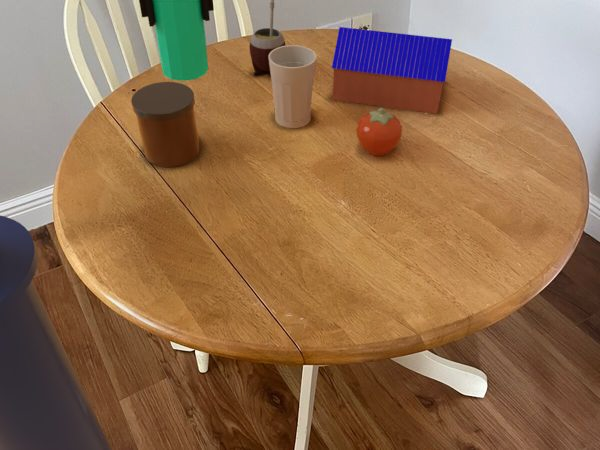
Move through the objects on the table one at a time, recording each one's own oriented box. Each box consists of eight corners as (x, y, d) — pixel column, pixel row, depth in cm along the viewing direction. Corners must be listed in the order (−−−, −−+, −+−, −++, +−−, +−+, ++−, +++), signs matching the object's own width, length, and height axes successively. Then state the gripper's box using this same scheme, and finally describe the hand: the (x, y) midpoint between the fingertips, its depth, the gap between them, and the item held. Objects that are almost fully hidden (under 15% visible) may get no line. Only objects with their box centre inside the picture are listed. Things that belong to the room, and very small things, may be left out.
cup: (261, 117, 105) (258, 55, 97) (294, 101, 109) (294, 40, 101) (291, 136, 101) (290, 73, 93) (324, 119, 105) (326, 57, 96)
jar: (146, 173, 93) (133, 118, 86) (140, 139, 100) (128, 86, 93) (205, 163, 95) (198, 108, 88) (196, 130, 102) (189, 78, 95)
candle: (154, 66, 77) (138, -28, 69) (195, 54, 80) (185, -37, 71) (174, 85, 73) (159, -11, 65) (216, 72, 76) (207, -22, 68)
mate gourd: (260, 83, 114) (256, 8, 103) (243, 66, 119) (238, -8, 108) (294, 75, 116) (293, 0, 106) (276, 58, 121) (274, -15, 111)
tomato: (389, 133, 101) (394, 93, 96) (406, 158, 96) (412, 117, 91) (348, 140, 100) (351, 99, 94) (363, 166, 95) (367, 124, 89)
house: (438, 114, 106) (450, 55, 98) (330, 100, 109) (332, 41, 101) (443, 82, 114) (454, 24, 106) (342, 69, 118) (345, 13, 110)
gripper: (66, -141, 55) (107, 40, 68) (246, -149, 59) (253, 25, 71) (68, -157, 61) (105, 13, 73) (232, -164, 64) (242, 0, 76)
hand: (178, 17), depth 72 cm, fingers closed on candle, 5 cm apart
